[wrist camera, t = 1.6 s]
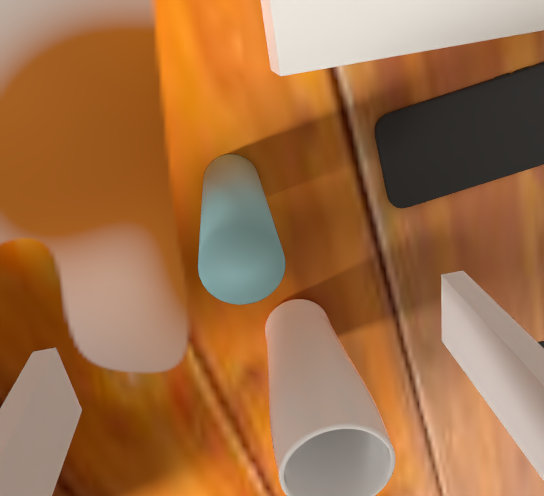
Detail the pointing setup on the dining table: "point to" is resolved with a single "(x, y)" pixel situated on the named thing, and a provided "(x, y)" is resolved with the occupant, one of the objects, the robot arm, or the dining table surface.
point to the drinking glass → (321, 409)
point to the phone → (463, 138)
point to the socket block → (384, 28)
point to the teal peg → (237, 234)
